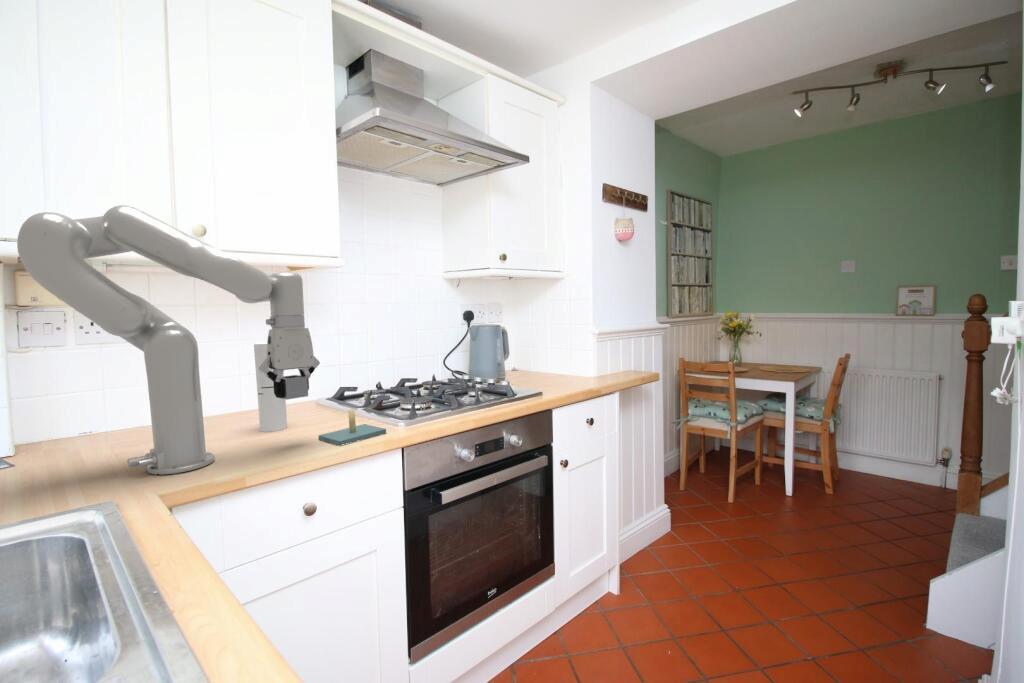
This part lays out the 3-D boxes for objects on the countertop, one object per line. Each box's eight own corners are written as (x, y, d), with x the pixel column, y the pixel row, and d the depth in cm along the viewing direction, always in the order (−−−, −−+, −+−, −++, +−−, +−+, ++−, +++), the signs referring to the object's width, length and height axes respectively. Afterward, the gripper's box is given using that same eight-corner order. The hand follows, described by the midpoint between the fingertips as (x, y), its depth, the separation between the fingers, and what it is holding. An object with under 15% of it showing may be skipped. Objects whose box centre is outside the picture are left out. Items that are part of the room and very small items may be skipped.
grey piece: (280, 431, 138) (273, 343, 136) (255, 432, 138) (248, 344, 136) (291, 425, 145) (286, 341, 143) (268, 425, 145) (262, 342, 143)
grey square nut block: (286, 399, 118) (285, 379, 118) (276, 397, 122) (274, 377, 121) (308, 396, 122) (307, 376, 122) (297, 394, 126) (296, 374, 125)
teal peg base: (339, 446, 121) (338, 417, 121) (318, 439, 128) (316, 412, 127) (386, 433, 132) (384, 407, 132) (364, 428, 139) (363, 403, 138)
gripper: (259, 324, 112) (263, 402, 113) (328, 321, 125) (331, 391, 126) (245, 324, 116) (249, 399, 118) (313, 321, 130) (316, 389, 131)
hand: (292, 394), depth 122 cm, fingers closed on grey square nut block, 5 cm apart
